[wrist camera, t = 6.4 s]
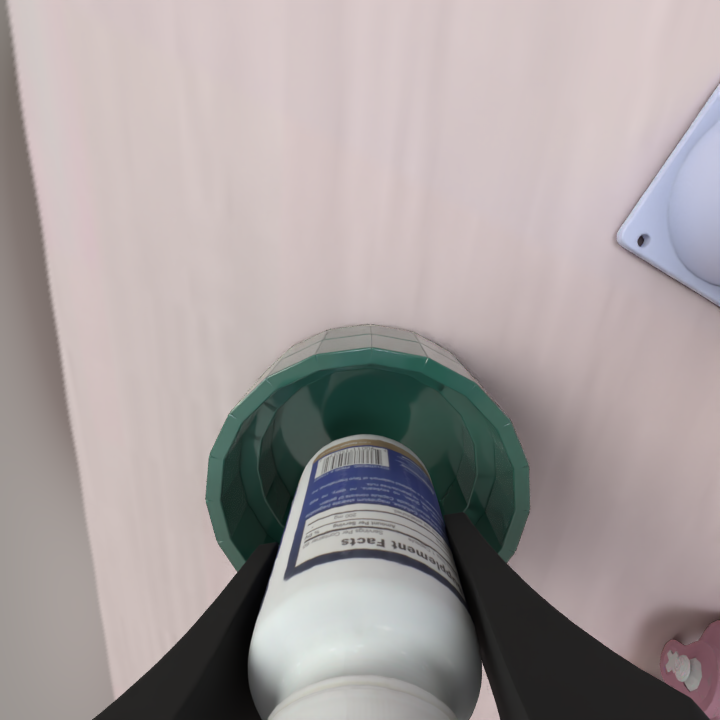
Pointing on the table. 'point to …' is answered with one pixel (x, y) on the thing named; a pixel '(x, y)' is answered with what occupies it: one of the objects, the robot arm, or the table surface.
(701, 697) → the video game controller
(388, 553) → the pill bottle
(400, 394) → the bowl
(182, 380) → the table surface
